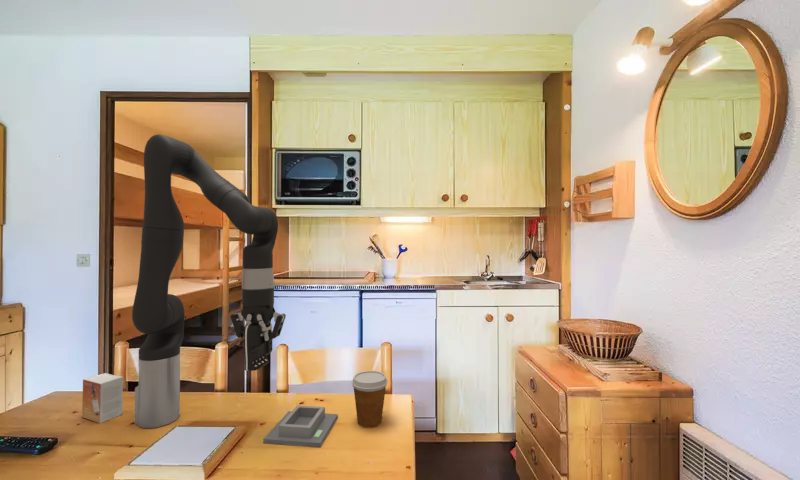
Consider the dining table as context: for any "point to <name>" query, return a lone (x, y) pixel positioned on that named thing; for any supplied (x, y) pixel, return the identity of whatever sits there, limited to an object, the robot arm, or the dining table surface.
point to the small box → (102, 397)
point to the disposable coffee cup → (369, 397)
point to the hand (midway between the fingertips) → (258, 354)
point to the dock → (302, 427)
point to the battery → (254, 347)
